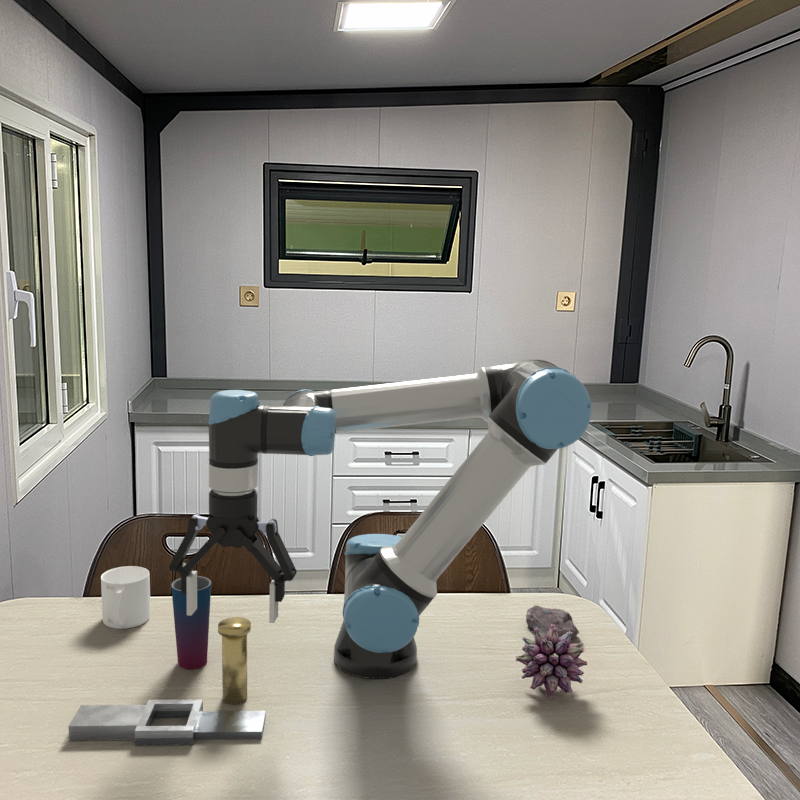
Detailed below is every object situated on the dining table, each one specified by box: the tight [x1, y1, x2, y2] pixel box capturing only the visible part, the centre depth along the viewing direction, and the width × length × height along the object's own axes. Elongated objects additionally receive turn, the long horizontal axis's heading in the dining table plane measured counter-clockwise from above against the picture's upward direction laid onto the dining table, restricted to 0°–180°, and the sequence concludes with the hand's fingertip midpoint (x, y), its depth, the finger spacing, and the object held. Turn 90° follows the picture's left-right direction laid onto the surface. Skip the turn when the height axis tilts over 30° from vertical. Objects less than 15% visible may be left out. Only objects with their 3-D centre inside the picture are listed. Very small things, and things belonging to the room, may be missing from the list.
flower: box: [515, 624, 588, 699], centre depth 135 cm, size 12×12×12 cm
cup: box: [170, 575, 212, 671], centre depth 141 cm, size 7×7×15 cm
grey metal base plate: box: [67, 698, 267, 747], centre depth 122 cm, size 28×8×2 cm, turn 94°
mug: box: [100, 565, 151, 630], centre depth 156 cm, size 12×9×9 cm
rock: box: [525, 604, 580, 640], centre depth 158 cm, size 8×11×5 cm
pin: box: [217, 616, 252, 706], centre depth 130 cm, size 5×5×13 cm
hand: (232, 615), depth 129 cm, fingers open, 13 cm apart
